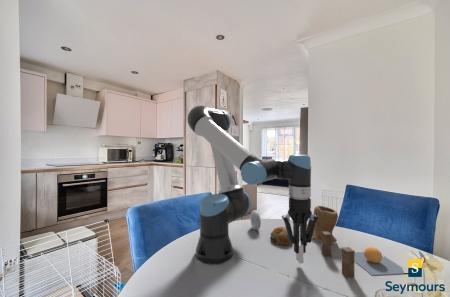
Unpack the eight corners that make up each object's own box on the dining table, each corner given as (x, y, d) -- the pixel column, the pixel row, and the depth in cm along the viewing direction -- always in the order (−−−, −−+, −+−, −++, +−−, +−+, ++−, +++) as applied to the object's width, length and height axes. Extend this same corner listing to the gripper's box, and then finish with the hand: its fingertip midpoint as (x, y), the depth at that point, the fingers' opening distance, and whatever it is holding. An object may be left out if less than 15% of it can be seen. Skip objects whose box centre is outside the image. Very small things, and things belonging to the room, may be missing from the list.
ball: (383, 268, 73) (370, 264, 72) (371, 259, 78) (358, 255, 78) (388, 253, 73) (374, 249, 72) (375, 246, 78) (363, 242, 78)
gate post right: (346, 278, 66) (347, 251, 66) (341, 273, 69) (341, 247, 69) (354, 277, 67) (354, 251, 66) (349, 272, 69) (349, 247, 69)
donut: (249, 225, 110) (249, 207, 110) (255, 225, 111) (255, 207, 110) (255, 233, 100) (255, 214, 100) (261, 233, 101) (261, 213, 100)
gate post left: (325, 257, 79) (325, 234, 79) (321, 253, 82) (321, 231, 81) (331, 256, 79) (331, 234, 79) (327, 253, 82) (327, 231, 82)
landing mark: (371, 275, 68) (371, 275, 68) (344, 253, 82) (344, 252, 82) (410, 273, 69) (410, 272, 69) (376, 251, 83) (376, 251, 83)
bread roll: (290, 254, 88) (298, 239, 87) (268, 242, 89) (276, 227, 89) (287, 243, 97) (295, 229, 96) (268, 233, 99) (275, 219, 98)
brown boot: (344, 243, 90) (344, 210, 89) (322, 247, 86) (322, 213, 86) (319, 229, 104) (319, 201, 104) (300, 232, 101) (300, 203, 101)
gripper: (286, 200, 68) (286, 268, 69) (322, 199, 69) (322, 266, 70) (278, 194, 76) (278, 256, 76) (311, 194, 77) (311, 254, 77)
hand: (299, 261), depth 73 cm, fingers closed
